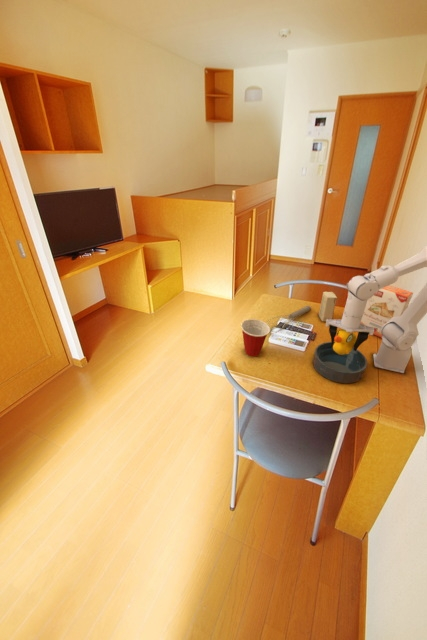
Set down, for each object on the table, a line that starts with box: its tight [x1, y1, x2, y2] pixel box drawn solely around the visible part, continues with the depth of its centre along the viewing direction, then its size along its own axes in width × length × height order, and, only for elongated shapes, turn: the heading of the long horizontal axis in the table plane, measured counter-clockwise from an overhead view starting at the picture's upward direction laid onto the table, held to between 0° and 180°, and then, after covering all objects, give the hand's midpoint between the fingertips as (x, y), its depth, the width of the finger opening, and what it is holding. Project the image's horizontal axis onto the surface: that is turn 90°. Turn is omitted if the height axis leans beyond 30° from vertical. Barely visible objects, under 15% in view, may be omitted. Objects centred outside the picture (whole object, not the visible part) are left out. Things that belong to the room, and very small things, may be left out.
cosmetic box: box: [318, 291, 338, 322], centre depth 130 cm, size 6×4×12 cm
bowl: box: [312, 341, 368, 384], centre depth 103 cm, size 17×17×5 cm
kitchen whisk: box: [267, 305, 312, 335], centre depth 129 cm, size 6×34×6 cm, turn 132°
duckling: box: [333, 328, 357, 355], centre depth 99 cm, size 11×5×10 cm, turn 121°
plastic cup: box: [240, 318, 271, 357], centre depth 109 cm, size 11×11×12 cm
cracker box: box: [361, 285, 414, 339], centre depth 118 cm, size 14×6×21 cm, turn 42°
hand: (343, 346), depth 100 cm, fingers closed on duckling, 7 cm apart
